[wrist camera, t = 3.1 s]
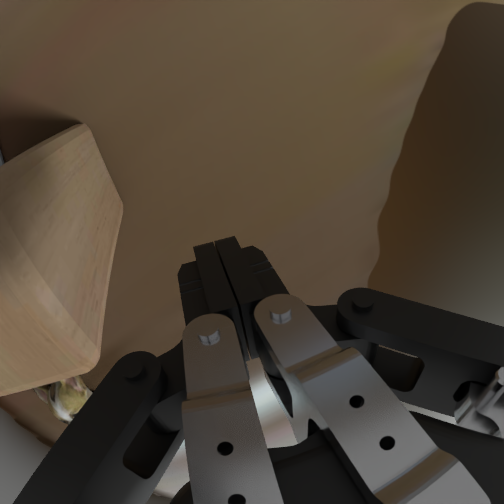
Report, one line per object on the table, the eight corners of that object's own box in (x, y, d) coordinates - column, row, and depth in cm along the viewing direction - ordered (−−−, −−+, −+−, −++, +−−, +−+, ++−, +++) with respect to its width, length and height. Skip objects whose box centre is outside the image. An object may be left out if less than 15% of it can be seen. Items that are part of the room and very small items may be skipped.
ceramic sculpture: (88, 455, 35) (13, 410, 28) (90, 415, 43) (25, 368, 35) (131, 441, 35) (49, 389, 27) (130, 396, 43) (61, 342, 35)
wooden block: (50, 246, 27) (-11, 405, 11) (8, 166, 22) (-117, 281, 5) (127, 208, 28) (107, 375, 12) (88, 118, 23) (-29, 184, 6)
